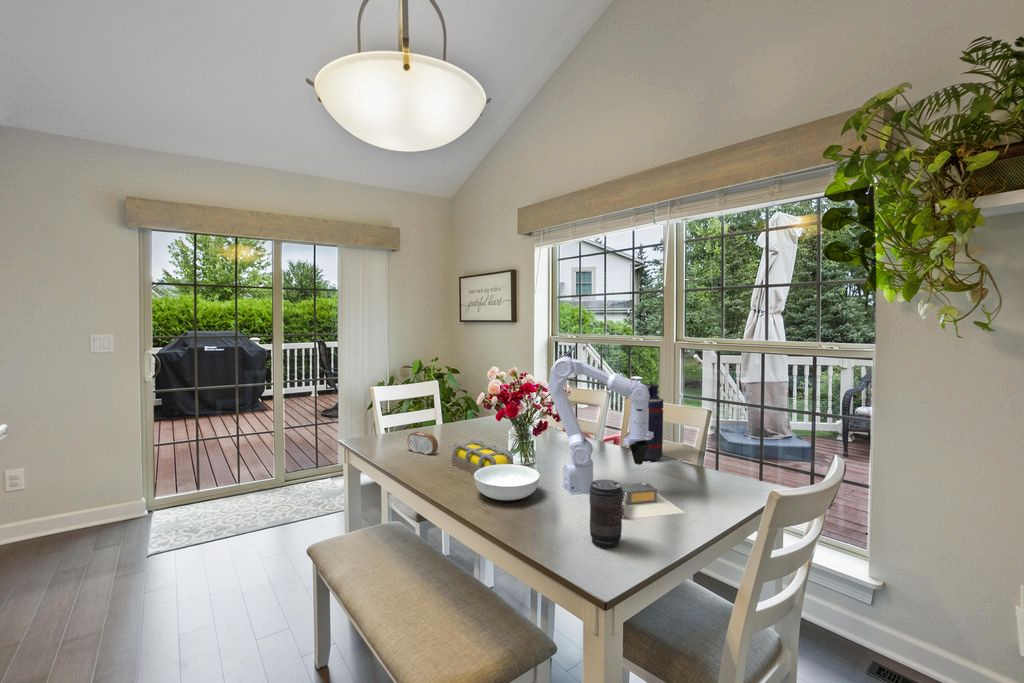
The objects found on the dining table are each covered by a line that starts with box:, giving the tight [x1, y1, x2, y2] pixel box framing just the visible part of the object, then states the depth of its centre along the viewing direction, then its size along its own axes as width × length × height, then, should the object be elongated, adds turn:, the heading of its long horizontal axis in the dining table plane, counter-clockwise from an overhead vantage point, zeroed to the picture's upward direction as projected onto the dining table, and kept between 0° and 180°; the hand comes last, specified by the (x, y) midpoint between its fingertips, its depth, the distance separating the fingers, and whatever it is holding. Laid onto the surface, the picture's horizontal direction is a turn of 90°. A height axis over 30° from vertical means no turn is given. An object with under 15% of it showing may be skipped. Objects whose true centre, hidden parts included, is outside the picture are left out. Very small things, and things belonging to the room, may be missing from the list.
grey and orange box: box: [621, 482, 658, 505], centre depth 148 cm, size 11×6×5 cm, turn 103°
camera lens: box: [589, 479, 623, 550], centre depth 120 cm, size 8×8×15 cm
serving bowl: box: [473, 464, 541, 501], centre depth 153 cm, size 21×21×7 cm
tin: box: [407, 431, 439, 455], centre depth 199 cm, size 15×3×8 cm, turn 58°
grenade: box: [643, 383, 664, 462], centre depth 192 cm, size 14×12×30 cm
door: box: [621, 493, 628, 519], centre depth 139 cm, size 10×1×4 cm, turn 161°
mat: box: [624, 493, 686, 519], centre depth 144 cm, size 18×16×1 cm
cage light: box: [451, 439, 515, 476], centre depth 180 cm, size 15×8×30 cm
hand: (638, 463), depth 153 cm, fingers closed
